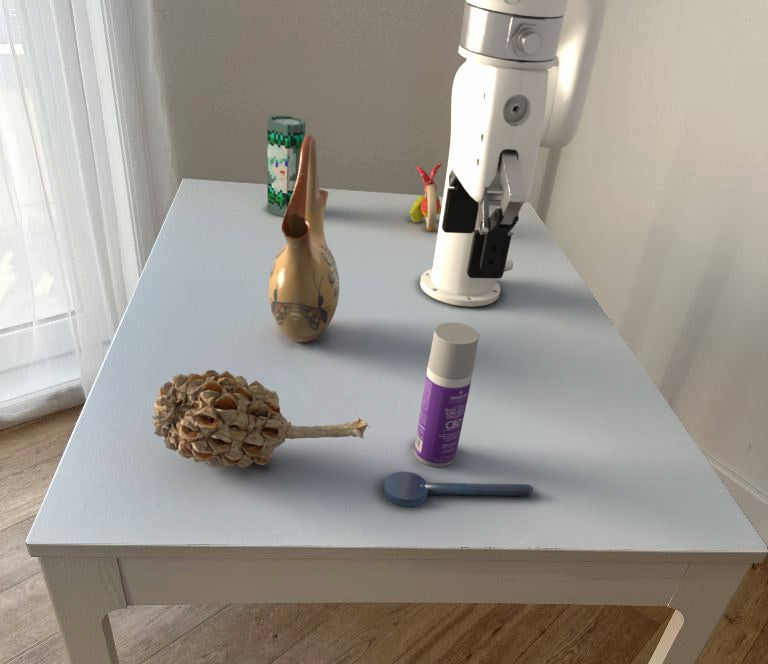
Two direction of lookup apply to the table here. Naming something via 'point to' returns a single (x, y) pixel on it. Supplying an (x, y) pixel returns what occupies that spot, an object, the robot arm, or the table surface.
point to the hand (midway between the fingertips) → (470, 253)
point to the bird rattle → (427, 201)
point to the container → (445, 393)
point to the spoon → (441, 489)
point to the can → (283, 159)
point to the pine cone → (229, 420)
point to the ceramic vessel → (304, 259)
